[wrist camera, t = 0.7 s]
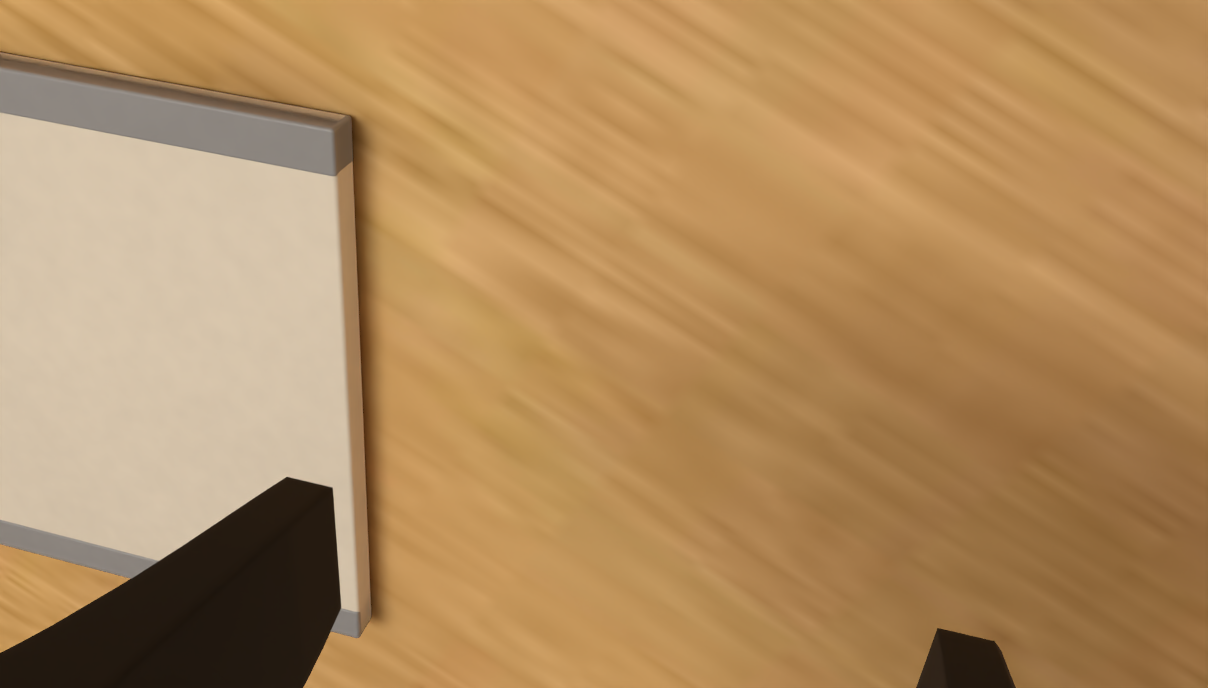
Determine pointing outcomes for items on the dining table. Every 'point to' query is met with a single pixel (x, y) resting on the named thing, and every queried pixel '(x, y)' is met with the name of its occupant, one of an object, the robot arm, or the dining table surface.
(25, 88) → the whiteboard
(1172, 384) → the dining table surface
